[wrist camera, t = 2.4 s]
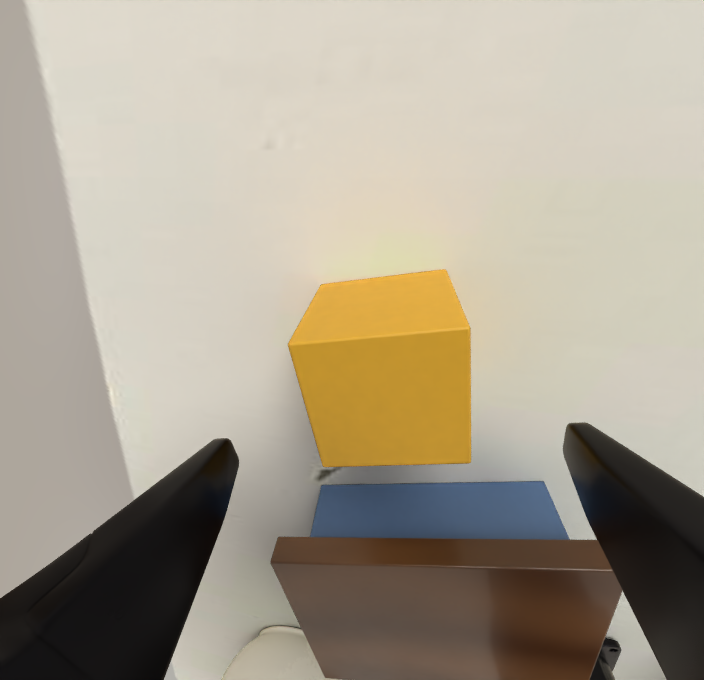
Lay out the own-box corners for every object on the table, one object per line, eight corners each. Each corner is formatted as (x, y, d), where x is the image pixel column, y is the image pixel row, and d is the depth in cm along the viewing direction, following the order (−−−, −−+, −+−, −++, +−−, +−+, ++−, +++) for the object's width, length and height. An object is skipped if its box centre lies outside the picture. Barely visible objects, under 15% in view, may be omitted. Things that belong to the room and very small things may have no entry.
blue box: (530, 576, 22) (555, 656, 19) (347, 571, 24) (339, 642, 21) (544, 480, 18) (579, 560, 14) (321, 484, 20) (305, 555, 17)
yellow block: (450, 376, 15) (471, 464, 11) (341, 383, 16) (322, 468, 12) (446, 268, 13) (471, 326, 9) (320, 283, 14) (286, 344, 10)
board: (572, 670, 19) (582, 700, 18) (328, 652, 22) (324, 678, 21) (612, 539, 14) (630, 571, 13) (277, 535, 16) (269, 562, 15)
